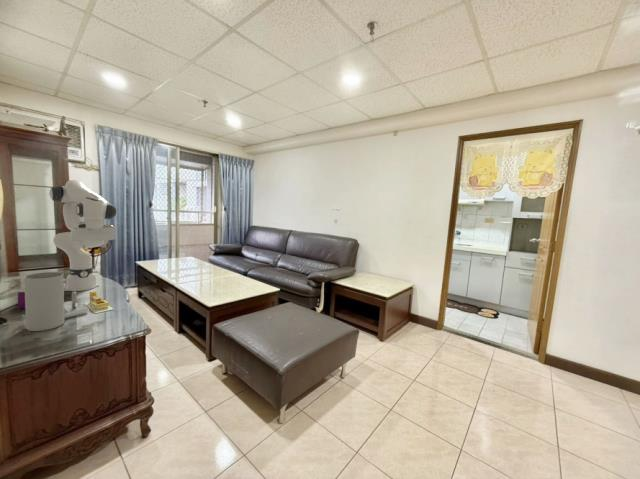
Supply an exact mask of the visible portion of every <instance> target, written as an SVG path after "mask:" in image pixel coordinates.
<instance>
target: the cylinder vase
mask: <svg viewBox="0 0 640 479" xmlns="http://www.w3.org/2000/svg"><path fill="white" fill-rule="evenodd" d="M23 277H24V278H23V279H24V280H23V281H24V282H23V283H24V292H25V309H24V310H25V328H26V330H27V331H29V332H42V331H48V330H53V329H56V328H58V327H60V326H62V325H63V324H64V323H65V318H64V302H65V291H64V284H65V283H64V279H65V278H64V272H60V271H59V272H58V271H46V272H45V271H44V272H36V273H31V274H26V275H24V276H23Z"/></svg>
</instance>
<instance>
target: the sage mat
mask: <svg viewBox="0 0 640 479" xmlns="http://www.w3.org/2000/svg"><path fill="white" fill-rule="evenodd" d="M102 300H103V299H101V301H102ZM83 305H85V306H86V307H87V308H88V310H89V309H90V310H91V311H92V313H94V314H95V315H96V314H100V313H104V312H109V311H114V308H113V307H111V306H110V305H109V308H105V309H100V310H94V309H93V308H92V303H90V301H88V302H84V303H83Z"/></svg>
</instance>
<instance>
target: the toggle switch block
mask: <svg viewBox="0 0 640 479" xmlns="http://www.w3.org/2000/svg"><path fill="white" fill-rule="evenodd" d="M86 314H87V315H88V314H89V308H88V307H87V306H86V305H85V304H84V303H82V302H81V301H80V300H79V299H77V291H71V300H69V301H68V300H67V301H64V319H68V318H73V317H77V316H82V315H86Z"/></svg>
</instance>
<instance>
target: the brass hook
mask: <svg viewBox="0 0 640 479" xmlns="http://www.w3.org/2000/svg"><path fill="white" fill-rule="evenodd" d="M97 293H98V292H97V291H96V290H95V291H90V292H89V302H90V303H92V308H93V309H94V310H100V309H105V308H109V306H110V305H109V304H110V302H108V301H107V300H106V299H102V297H101V296H99V295H98V294H97ZM101 300H102V301H101Z"/></svg>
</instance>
